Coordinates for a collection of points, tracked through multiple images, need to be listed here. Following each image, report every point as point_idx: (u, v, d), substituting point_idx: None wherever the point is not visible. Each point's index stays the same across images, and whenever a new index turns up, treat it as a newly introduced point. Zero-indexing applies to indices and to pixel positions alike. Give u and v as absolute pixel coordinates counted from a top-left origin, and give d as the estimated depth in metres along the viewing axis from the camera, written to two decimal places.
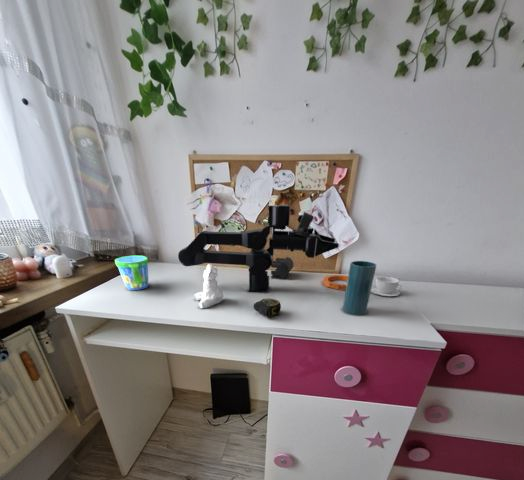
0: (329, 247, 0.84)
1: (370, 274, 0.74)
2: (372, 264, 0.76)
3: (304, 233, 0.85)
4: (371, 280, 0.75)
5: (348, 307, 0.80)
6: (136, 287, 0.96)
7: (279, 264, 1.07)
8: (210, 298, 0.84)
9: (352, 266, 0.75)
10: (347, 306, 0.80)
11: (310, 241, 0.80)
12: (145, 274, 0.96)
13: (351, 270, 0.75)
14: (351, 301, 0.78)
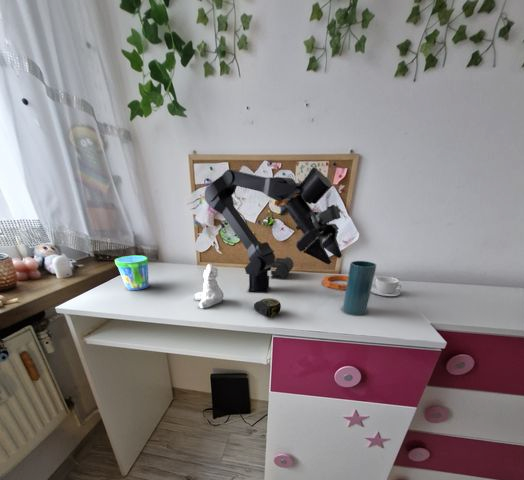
0: (321, 257, 0.76)
1: (370, 274, 0.74)
2: (372, 264, 0.76)
3: (317, 224, 0.75)
4: (371, 280, 0.75)
5: (348, 307, 0.80)
6: (136, 287, 0.96)
7: (279, 264, 1.07)
8: (210, 298, 0.84)
9: (352, 266, 0.75)
10: (347, 306, 0.80)
11: (308, 235, 0.71)
12: (145, 274, 0.96)
13: (351, 270, 0.75)
14: (351, 301, 0.78)
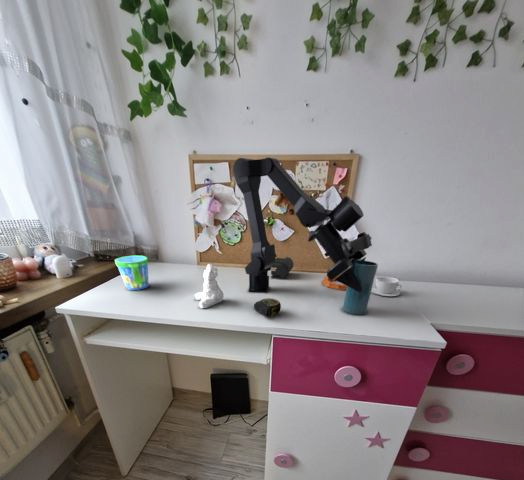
0: (352, 285, 0.75)
1: (371, 273, 0.74)
2: (374, 264, 0.77)
3: (347, 252, 0.74)
4: (372, 279, 0.75)
5: (348, 306, 0.80)
6: (136, 287, 0.96)
7: (279, 264, 1.07)
8: (210, 298, 0.84)
9: (354, 264, 0.75)
10: (347, 305, 0.80)
11: (340, 265, 0.70)
12: (145, 274, 0.96)
13: None
14: (351, 300, 0.78)
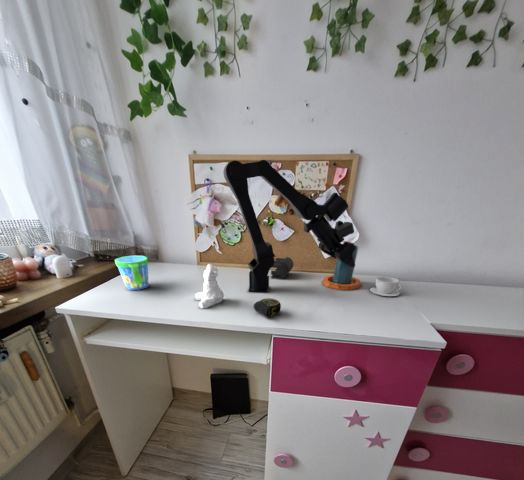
0: (350, 262, 0.95)
1: None
2: None
3: (342, 237, 0.93)
4: (355, 257, 0.98)
5: (342, 282, 1.00)
6: (136, 287, 0.96)
7: (279, 264, 1.07)
8: (210, 298, 0.84)
9: None
10: (341, 281, 1.00)
11: (351, 247, 0.88)
12: (145, 274, 0.96)
13: None
14: (345, 276, 0.99)
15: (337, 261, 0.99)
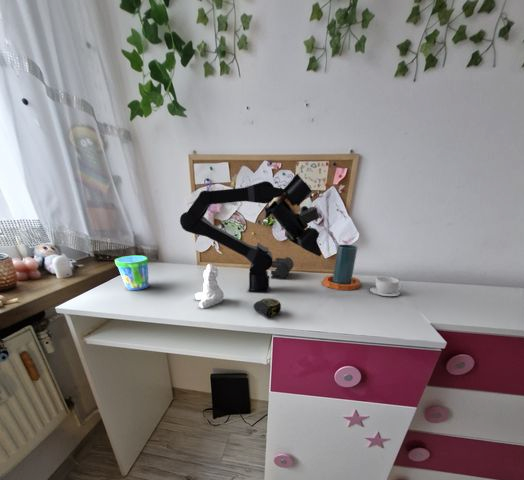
0: (315, 251, 0.88)
1: None
2: (349, 246, 0.99)
3: (305, 223, 0.86)
4: None
5: (342, 282, 1.00)
6: (136, 287, 0.96)
7: (279, 264, 1.07)
8: (210, 298, 0.84)
9: (344, 249, 0.94)
10: (341, 282, 1.00)
11: (313, 233, 0.82)
12: (145, 274, 0.96)
13: (343, 252, 0.95)
14: (345, 277, 0.99)
15: (336, 262, 0.99)
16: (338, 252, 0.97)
